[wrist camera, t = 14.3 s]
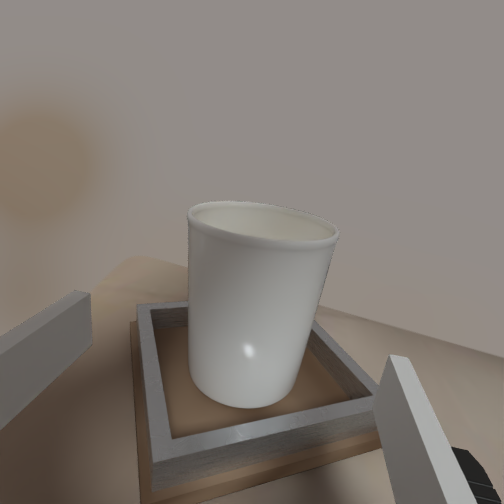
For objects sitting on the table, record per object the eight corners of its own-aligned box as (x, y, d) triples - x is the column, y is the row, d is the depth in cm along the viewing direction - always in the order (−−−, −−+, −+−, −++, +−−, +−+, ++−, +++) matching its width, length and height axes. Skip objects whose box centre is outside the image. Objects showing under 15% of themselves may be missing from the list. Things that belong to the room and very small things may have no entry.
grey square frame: (286, 311, 35) (289, 294, 34) (388, 427, 22) (396, 404, 21) (136, 324, 29) (136, 304, 28) (151, 492, 16) (153, 462, 15)
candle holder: (214, 320, 31) (226, 195, 27) (316, 353, 28) (346, 218, 24) (149, 386, 22) (154, 215, 18) (287, 443, 19) (328, 256, 15)
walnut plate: (287, 316, 36) (288, 308, 35) (395, 443, 22) (399, 432, 21) (130, 331, 29) (130, 321, 29) (141, 520, 16) (141, 505, 15)
